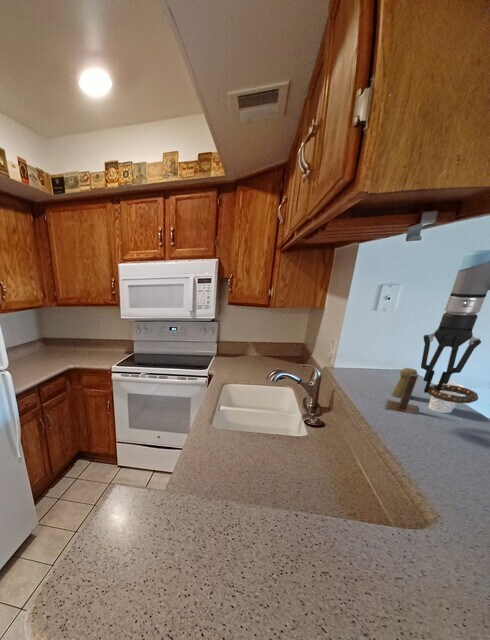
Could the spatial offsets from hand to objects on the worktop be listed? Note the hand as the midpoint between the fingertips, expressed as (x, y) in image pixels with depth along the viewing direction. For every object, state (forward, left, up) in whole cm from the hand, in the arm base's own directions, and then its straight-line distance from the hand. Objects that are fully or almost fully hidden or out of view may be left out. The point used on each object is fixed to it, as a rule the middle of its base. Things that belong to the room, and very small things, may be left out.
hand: (431, 392), depth 102 cm
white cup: (-6, -17, -12) cm, 22 cm away
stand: (+5, -10, -12) cm, 16 cm away
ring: (-5, 0, +1) cm, 5 cm away
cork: (+6, -27, -12) cm, 30 cm away
